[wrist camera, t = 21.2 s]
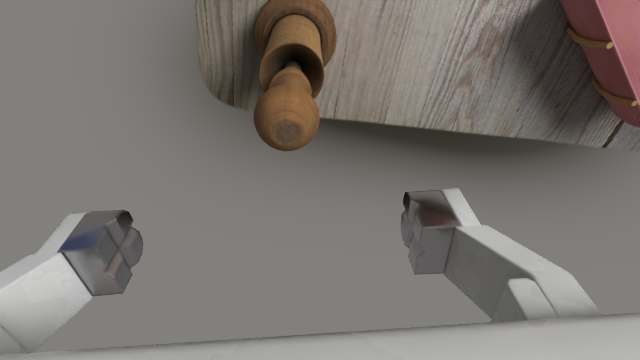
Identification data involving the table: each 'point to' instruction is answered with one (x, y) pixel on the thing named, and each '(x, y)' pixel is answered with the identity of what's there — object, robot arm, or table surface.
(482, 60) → the table surface
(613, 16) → the book
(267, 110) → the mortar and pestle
